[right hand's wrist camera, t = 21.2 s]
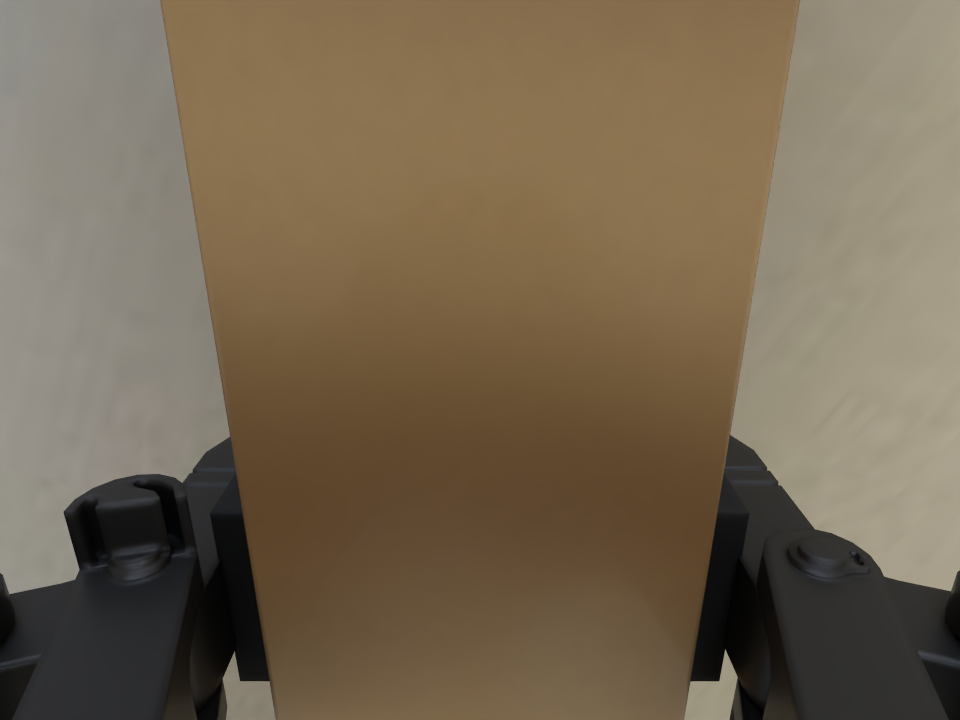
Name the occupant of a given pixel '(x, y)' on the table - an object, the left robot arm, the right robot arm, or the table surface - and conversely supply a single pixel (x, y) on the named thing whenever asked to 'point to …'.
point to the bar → (480, 333)
